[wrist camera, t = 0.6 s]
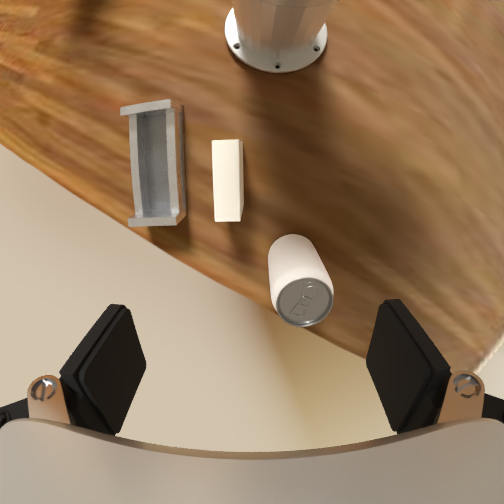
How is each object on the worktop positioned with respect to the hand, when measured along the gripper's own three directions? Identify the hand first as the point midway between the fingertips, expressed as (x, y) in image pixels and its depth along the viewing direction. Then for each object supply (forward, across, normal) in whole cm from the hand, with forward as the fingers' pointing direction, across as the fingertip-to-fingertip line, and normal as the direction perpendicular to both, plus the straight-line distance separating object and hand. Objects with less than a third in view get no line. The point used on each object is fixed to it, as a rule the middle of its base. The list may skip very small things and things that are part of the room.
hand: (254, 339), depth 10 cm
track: (+27, +12, -6) cm, 30 cm away
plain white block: (+27, +3, -3) cm, 27 cm away
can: (+27, -4, +8) cm, 29 cm away
